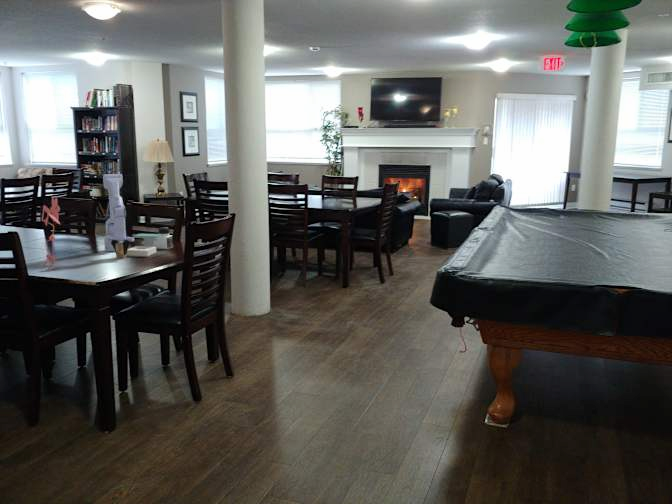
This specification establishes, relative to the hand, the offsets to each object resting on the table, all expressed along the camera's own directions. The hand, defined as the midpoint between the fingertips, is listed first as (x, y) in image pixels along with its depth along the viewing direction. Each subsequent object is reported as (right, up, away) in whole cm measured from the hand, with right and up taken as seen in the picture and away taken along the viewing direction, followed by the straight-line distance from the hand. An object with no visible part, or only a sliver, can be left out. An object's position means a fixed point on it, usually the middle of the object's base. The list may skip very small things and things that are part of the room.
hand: (121, 254), depth 317 cm
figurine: (-22, -6, -22) cm, 32 cm away
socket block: (+8, 0, +10) cm, 12 cm away
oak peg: (0, -2, 0) cm, 2 cm away
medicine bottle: (+15, +3, +30) cm, 33 cm away
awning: (+9, +2, +19) cm, 21 cm away
